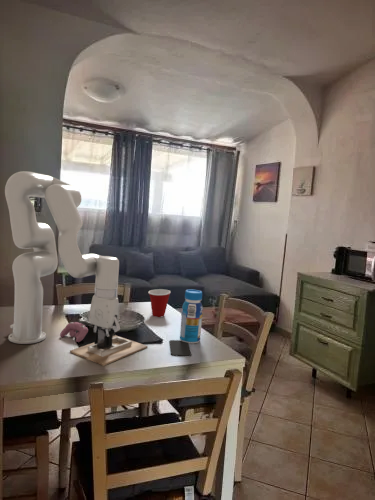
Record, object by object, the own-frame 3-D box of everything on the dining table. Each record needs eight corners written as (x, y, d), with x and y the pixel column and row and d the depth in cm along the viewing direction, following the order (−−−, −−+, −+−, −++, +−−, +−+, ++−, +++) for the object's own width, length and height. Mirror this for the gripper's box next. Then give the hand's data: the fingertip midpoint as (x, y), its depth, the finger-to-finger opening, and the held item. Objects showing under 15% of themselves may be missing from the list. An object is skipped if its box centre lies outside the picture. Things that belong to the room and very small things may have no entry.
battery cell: (94, 346, 128) (95, 326, 127) (103, 343, 131) (104, 324, 130) (102, 349, 126) (104, 329, 125) (111, 346, 129) (112, 327, 128)
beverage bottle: (174, 339, 148) (178, 289, 146) (189, 335, 154) (193, 287, 152) (189, 345, 142) (194, 294, 140) (204, 341, 148) (209, 292, 146)
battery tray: (70, 352, 127) (70, 345, 127) (115, 336, 145) (115, 331, 145) (103, 365, 118) (103, 359, 118) (147, 347, 137) (147, 341, 136)
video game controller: (85, 344, 139) (91, 326, 141) (77, 342, 135) (84, 323, 137) (66, 338, 143) (73, 321, 146) (58, 336, 140) (65, 318, 142)
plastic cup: (144, 312, 183) (146, 288, 181) (165, 312, 186) (167, 288, 185) (148, 318, 172) (150, 293, 171) (171, 318, 176) (173, 293, 174)
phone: (187, 340, 146) (191, 355, 131) (187, 342, 146) (191, 357, 132) (169, 339, 146) (171, 354, 131) (168, 342, 146) (170, 356, 131)
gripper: (80, 290, 128) (78, 341, 130) (116, 299, 119) (113, 354, 121) (97, 287, 134) (94, 336, 136) (132, 295, 125) (128, 348, 127)
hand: (103, 344), depth 128 cm, fingers closed on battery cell, 4 cm apart
